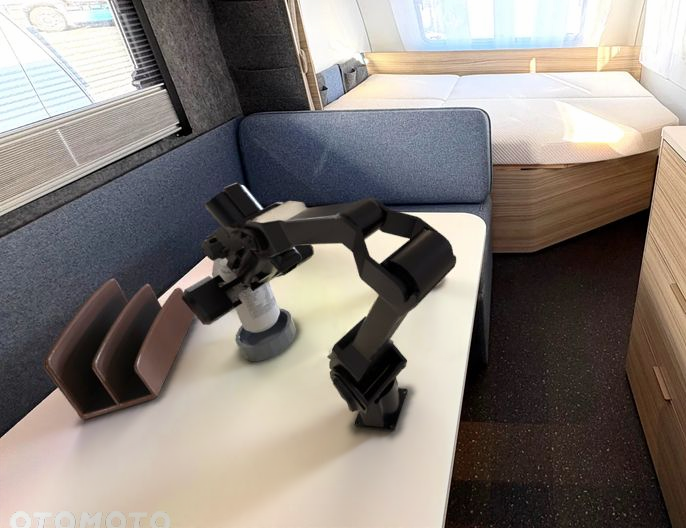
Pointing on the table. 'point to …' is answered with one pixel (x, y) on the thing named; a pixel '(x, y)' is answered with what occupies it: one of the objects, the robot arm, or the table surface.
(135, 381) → the letter holder
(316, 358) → the table surface
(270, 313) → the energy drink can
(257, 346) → the grey round dish
